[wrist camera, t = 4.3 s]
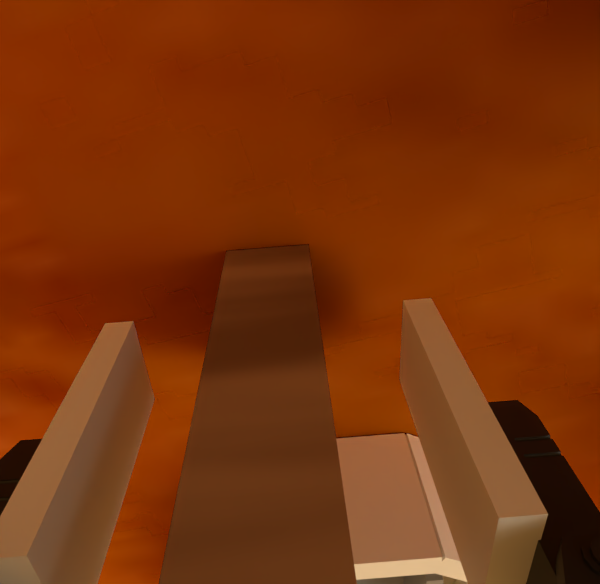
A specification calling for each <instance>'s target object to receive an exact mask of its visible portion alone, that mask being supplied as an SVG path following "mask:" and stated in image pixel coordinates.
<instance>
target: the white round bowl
mask: <svg viewBox="0 0 600 584" xmlns="http://www.w3.org/2000/svg"><path fill="white" fill-rule="evenodd" d="M336 441H337V448H338V455H339V462H340V469H341V476H342V483H343V490H344V497H345V504H346V511H347V518H348V525H349V532H350V539H351V546H352V553H353V560H354V567H355V574H356V581H357V584H468V582H467V579H466V576H465V573H464V570H463V567H462V564H461V561H460V558H459V555H458V552H457V549H456V546H455V543H454V540H453V538H452V535H451V532H450V529H449V526H448V523H447V520H446V517H445V514H444V511H443V508H442V505H441V502H440V499H439V496H438V493H437V490H436V487H435V484H434V481H433V478H432V475H431V472H430V469H429V466H428V463H427V460H426V457H425V454H424V451H423V448H422V445H421V442H420V439H419V437H416V436H413V435H410V434H408V433H407V434H406V435H405V433H399V434H386V435H373V436H361V437H348V438H336Z"/></svg>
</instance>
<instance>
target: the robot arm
mask: <svg viewBox="0 0 600 584" xmlns="http://www.w3.org/2000/svg"><path fill="white" fill-rule="evenodd" d="M399 380H400V383H401V386H402V389H403V392H404V395H405V398H406V401H407V404H408V407H409V410H410V413H411V415H412V418H413V421H414V424H415V427H416V430H417V433H418V436H419V439H420V442H421V445H422V448H423V451H424V454H425V457H426V460H427V463H428V466H429V469H430V472H431V475H432V478H433V481H434V484H435V487H436V490H437V493H438V496H439V499H440V502H441V505H442V508H443V511H444V514H445V517H446V520H447V523H448V526H449V529H450V532H451V535H452V538H453V540H454V543H455V546H456V549H457V552H458V555H459V558H460V561H461V564H462V567H463V570H464V573H465V576H466V579H467V582H468V584H600V512H599V510H598V509H597V507H596V506H595V504H594V503H593V501H592V500H591V498H590V496H589V495H588V493H587V492H586V490H585V489H584V487H583V486H582V484H581V483H580V481H579V479H578V478H577V476H576V475H575V473H574V472H573V470H572V469H571V467H570V466H569V464H568V462H567V461H566V459H565V458H564V456H561V453H560V450H559V448H558V447H557V445H556V444H555V442H554V441H553V439H551V438H550V435H549V433H548V431H547V430H546V428H545V427H544V425H543V424H542V422H541V421H540V419H539V418H538V416H537V415H536V414H534V413H533V412H532V411H531V410H529V409H528V408H527V407H526V406H524V405H523V404H522V403H520V402H519V401H518V400H512V401H499V402H487V400H486V398H485V396H484V395H483V393H482V391H481V389H480V387H479V385H478V384H477V382H476V380H475V378H474V376H473V374H472V372H471V371H470V369H469V367H468V365H467V363H466V361H465V359H464V358H463V356H462V354H461V352H460V350H459V348H458V347H457V345H456V343H455V341H454V339H453V337H452V335H451V334H450V332H449V330H448V328H447V326H446V324H445V323H444V321H443V319H442V317H441V315H440V313H439V311H438V310H437V308H436V306H435V304H434V302H433V300H432V299H431V298H426V299H413V300H403V313H402V335H401V357H400V379H399ZM154 400H155V398H154V394H153V391H152V387H151V383H150V380H149V376H148V372H147V369H146V365H145V361H144V358H143V354H142V350H141V347H140V343H139V339H138V336H137V332H136V329H135V325H134V321H128V322H115V323H105V324H104V326H103V328H102V330H101V332H100V334H99V335H98V337H97V339H96V341H95V343H94V345H93V346H92V348H91V350H90V352H89V354H88V356H87V357H86V359H85V361H84V363H83V365H82V367H81V368H80V370H79V372H78V374H77V376H76V378H75V380H74V381H73V383H72V385H71V387H70V389H69V391H68V392H67V394H66V396H65V398H64V400H63V402H62V403H61V405H60V407H59V409H58V411H57V413H56V414H55V416H54V418H53V420H52V422H51V424H50V426H49V427H48V429H47V431H46V433H45V435H44V437H43V438H42V439H33V440H21V441H20V442H18V443H17V444H16V445H15V446H14V447H13V448H12V449H11V450H10V451H9V452H8V453H7V454H6V455H4V456H3V457H2V458H1V459H0V584H98V580H99V577H100V574H101V571H102V567H103V564H104V561H105V558H106V555H107V551H108V548H109V545H110V542H111V538H112V535H113V532H114V529H115V525H116V522H117V519H118V516H119V513H120V509H121V506H122V503H123V500H124V496H125V493H126V490H127V487H128V484H129V480H130V477H131V474H132V471H133V467H134V464H135V461H136V458H137V455H138V451H139V448H140V445H141V442H142V438H143V435H144V432H145V429H146V425H147V422H148V419H149V416H150V413H151V409H152V406H153V403H154Z"/></svg>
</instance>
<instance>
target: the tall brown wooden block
mask: <svg viewBox="0 0 600 584" xmlns="http://www.w3.org/2000/svg"><path fill="white" fill-rule="evenodd" d="M159 584H357V581H356V574H355V567H354V560H353V553H352V546H351V539H350V532H349V525H348V518H347V511H346V504H345V497H344V490H343V483H342V476H341V469H340V462H339V455H338V448H337V441H336V434H335V427H334V420H333V413H332V406H331V399H330V392H329V385H328V378H327V371H326V364H325V357H324V350H323V343H322V336H321V329H320V322H319V315H318V308H317V300H316V293H315V286H314V279H313V272H312V265H311V258H310V251H309V244H308V245H295V246H282V247H269V248H256V249H243V250H230V251H226V255H225V260H224V265H223V269H222V274H221V279H220V284H219V289H218V294H217V299H216V304H215V309H214V314H213V319H212V324H211V329H210V333H209V338H208V343H207V348H206V353H205V358H204V363H203V368H202V373H201V378H200V383H199V388H198V393H197V398H196V402H195V407H194V412H193V417H192V422H191V427H190V432H189V437H188V442H187V447H186V452H185V457H184V462H183V466H182V471H181V476H180V481H179V486H178V491H177V496H176V501H175V506H174V511H173V516H172V521H171V526H170V530H169V535H168V540H167V545H166V550H165V555H164V560H163V565H162V570H161V575H160V580H159Z"/></svg>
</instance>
